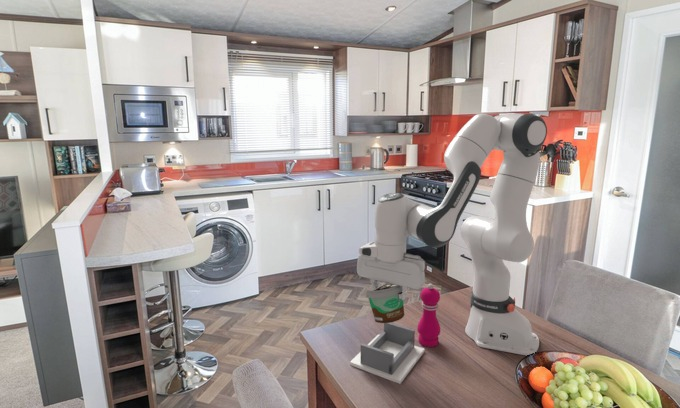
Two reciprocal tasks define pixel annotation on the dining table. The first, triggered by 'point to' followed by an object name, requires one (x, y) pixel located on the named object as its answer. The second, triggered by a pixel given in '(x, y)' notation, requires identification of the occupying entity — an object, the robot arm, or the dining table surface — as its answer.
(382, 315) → the food container
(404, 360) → the slot stand
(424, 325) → the pepper mill
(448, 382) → the dining table surface
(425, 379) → the dining table surface
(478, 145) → the robot arm
